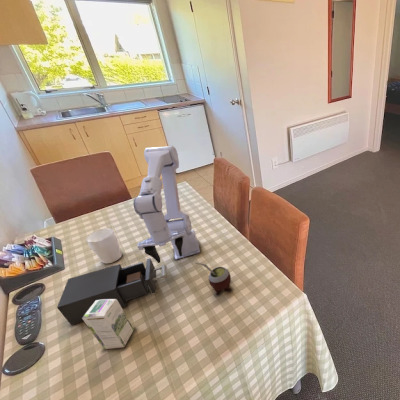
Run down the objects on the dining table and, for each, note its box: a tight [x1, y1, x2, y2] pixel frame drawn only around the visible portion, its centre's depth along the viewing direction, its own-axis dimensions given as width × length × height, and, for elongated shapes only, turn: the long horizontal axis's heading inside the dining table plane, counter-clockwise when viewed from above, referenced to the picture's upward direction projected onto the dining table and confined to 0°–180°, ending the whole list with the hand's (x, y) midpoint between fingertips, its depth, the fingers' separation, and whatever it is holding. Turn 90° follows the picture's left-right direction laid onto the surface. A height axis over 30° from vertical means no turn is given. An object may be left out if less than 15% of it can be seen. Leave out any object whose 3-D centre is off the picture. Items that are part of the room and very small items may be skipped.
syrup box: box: [82, 299, 135, 350], centre depth 75 cm, size 6×6×14 cm
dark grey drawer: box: [117, 258, 168, 302], centre depth 93 cm, size 18×11×7 cm, turn 117°
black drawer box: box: [56, 263, 127, 326], centre depth 88 cm, size 15×13×9 cm
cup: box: [85, 227, 123, 264], centre depth 106 cm, size 9×9×12 cm
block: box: [126, 272, 144, 284], centre depth 93 cm, size 4×4×4 cm
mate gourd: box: [194, 262, 232, 296], centre depth 90 cm, size 8×8×15 cm
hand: (170, 257), depth 95 cm, fingers open, 6 cm apart
